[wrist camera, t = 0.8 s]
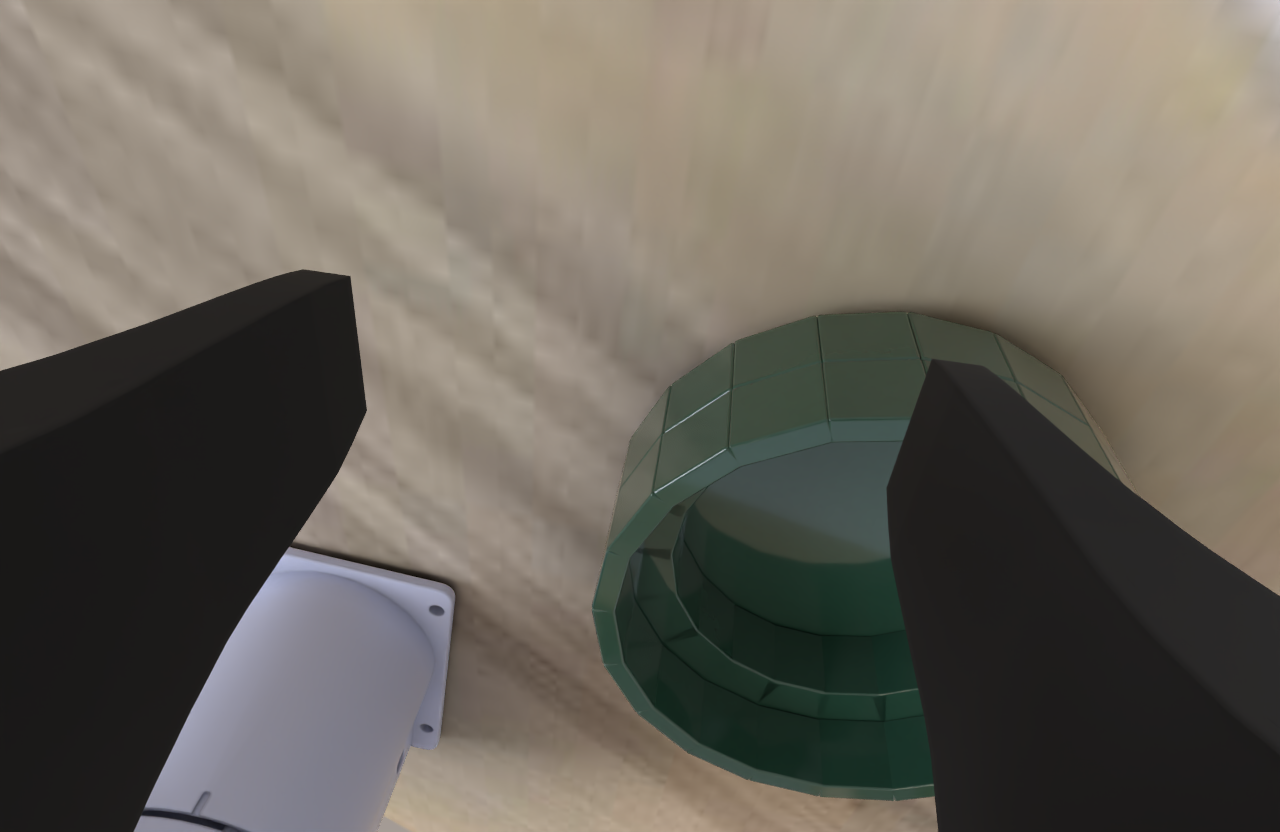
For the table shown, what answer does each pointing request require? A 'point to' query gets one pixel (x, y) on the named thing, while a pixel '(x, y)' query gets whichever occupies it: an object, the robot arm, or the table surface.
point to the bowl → (789, 550)
